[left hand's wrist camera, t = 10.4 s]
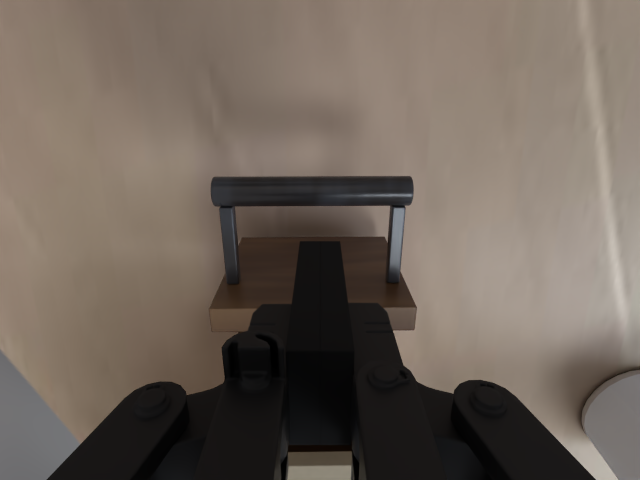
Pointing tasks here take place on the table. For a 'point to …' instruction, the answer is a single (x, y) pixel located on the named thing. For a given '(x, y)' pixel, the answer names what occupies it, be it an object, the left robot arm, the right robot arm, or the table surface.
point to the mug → (616, 423)
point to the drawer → (282, 252)
